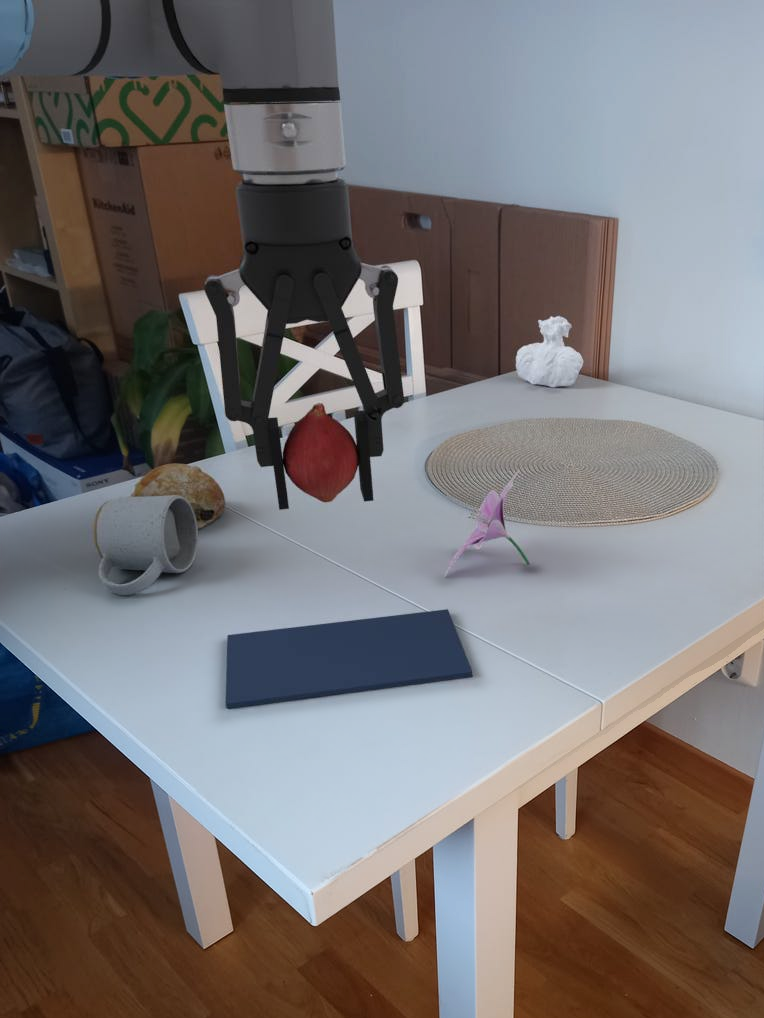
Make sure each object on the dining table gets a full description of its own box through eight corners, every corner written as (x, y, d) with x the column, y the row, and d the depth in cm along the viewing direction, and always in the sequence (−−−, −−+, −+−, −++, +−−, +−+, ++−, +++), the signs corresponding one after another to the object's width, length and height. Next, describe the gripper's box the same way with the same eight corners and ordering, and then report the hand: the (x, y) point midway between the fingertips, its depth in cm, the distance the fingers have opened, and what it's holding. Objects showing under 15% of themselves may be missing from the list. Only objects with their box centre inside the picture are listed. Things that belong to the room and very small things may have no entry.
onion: (284, 517, 72) (270, 415, 67) (294, 489, 77) (282, 393, 72) (359, 514, 72) (350, 413, 68) (364, 487, 77) (356, 391, 73)
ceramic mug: (131, 548, 99) (115, 481, 95) (204, 552, 98) (191, 484, 94) (82, 597, 90) (61, 525, 86) (161, 601, 89) (145, 528, 85)
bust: (582, 400, 151) (603, 335, 151) (567, 380, 144) (589, 313, 144) (518, 390, 156) (539, 327, 157) (501, 370, 149) (522, 305, 150)
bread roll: (170, 568, 103) (180, 514, 98) (106, 515, 105) (112, 459, 100) (234, 535, 110) (247, 483, 105) (173, 486, 112) (182, 433, 107)
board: (226, 709, 73) (225, 703, 73) (228, 639, 82) (227, 634, 82) (472, 676, 77) (472, 671, 77) (448, 613, 86) (447, 608, 86)
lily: (502, 537, 103) (457, 468, 98) (586, 523, 94) (542, 446, 90) (448, 610, 96) (398, 539, 92) (534, 602, 88) (483, 523, 83)
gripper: (139, 186, 57) (202, 529, 69) (439, 176, 61) (450, 504, 73) (149, 177, 64) (205, 493, 75) (420, 168, 67) (433, 471, 79)
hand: (325, 498), depth 74 cm, fingers closed on onion, 6 cm apart
